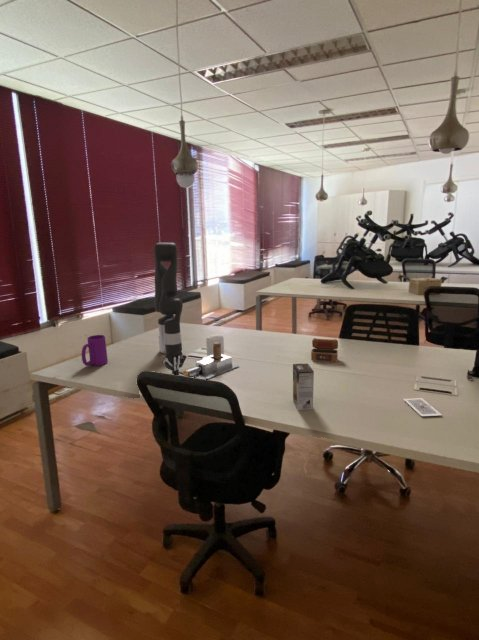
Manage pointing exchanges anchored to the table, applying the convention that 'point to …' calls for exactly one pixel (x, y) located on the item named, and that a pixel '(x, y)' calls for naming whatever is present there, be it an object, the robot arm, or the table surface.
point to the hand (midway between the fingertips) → (175, 377)
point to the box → (324, 350)
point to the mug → (95, 351)
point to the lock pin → (192, 371)
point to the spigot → (217, 351)
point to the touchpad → (422, 407)
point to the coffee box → (303, 386)
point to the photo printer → (214, 339)
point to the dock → (212, 367)
